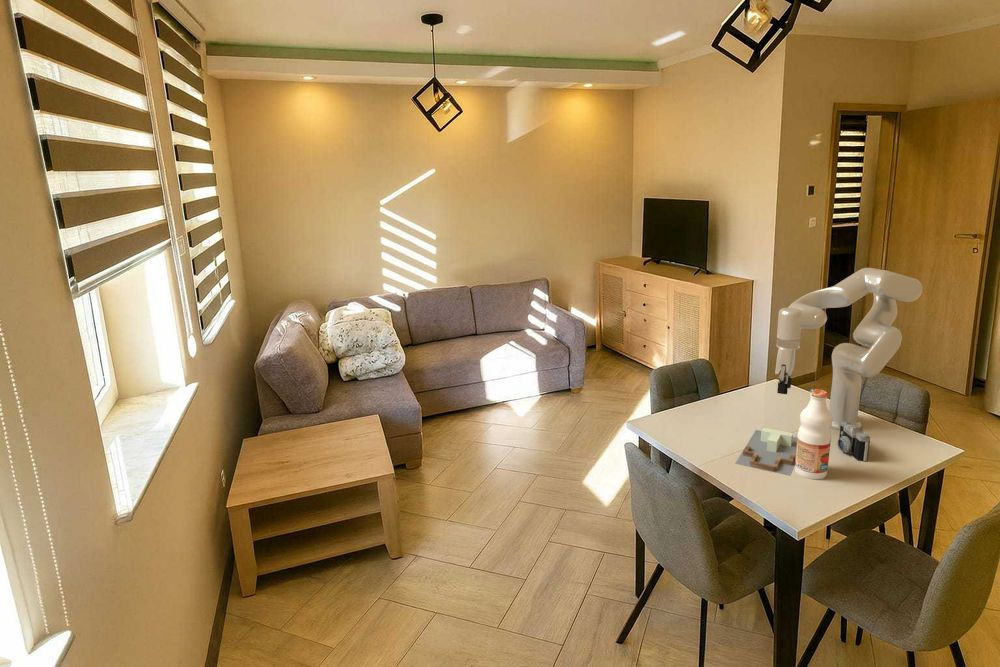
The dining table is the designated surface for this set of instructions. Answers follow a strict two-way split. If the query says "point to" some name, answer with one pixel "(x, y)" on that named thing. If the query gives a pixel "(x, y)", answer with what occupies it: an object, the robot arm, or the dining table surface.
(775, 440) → the t block
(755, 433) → the mat
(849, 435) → the camera
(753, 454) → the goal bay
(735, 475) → the dining table surface
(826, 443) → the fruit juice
